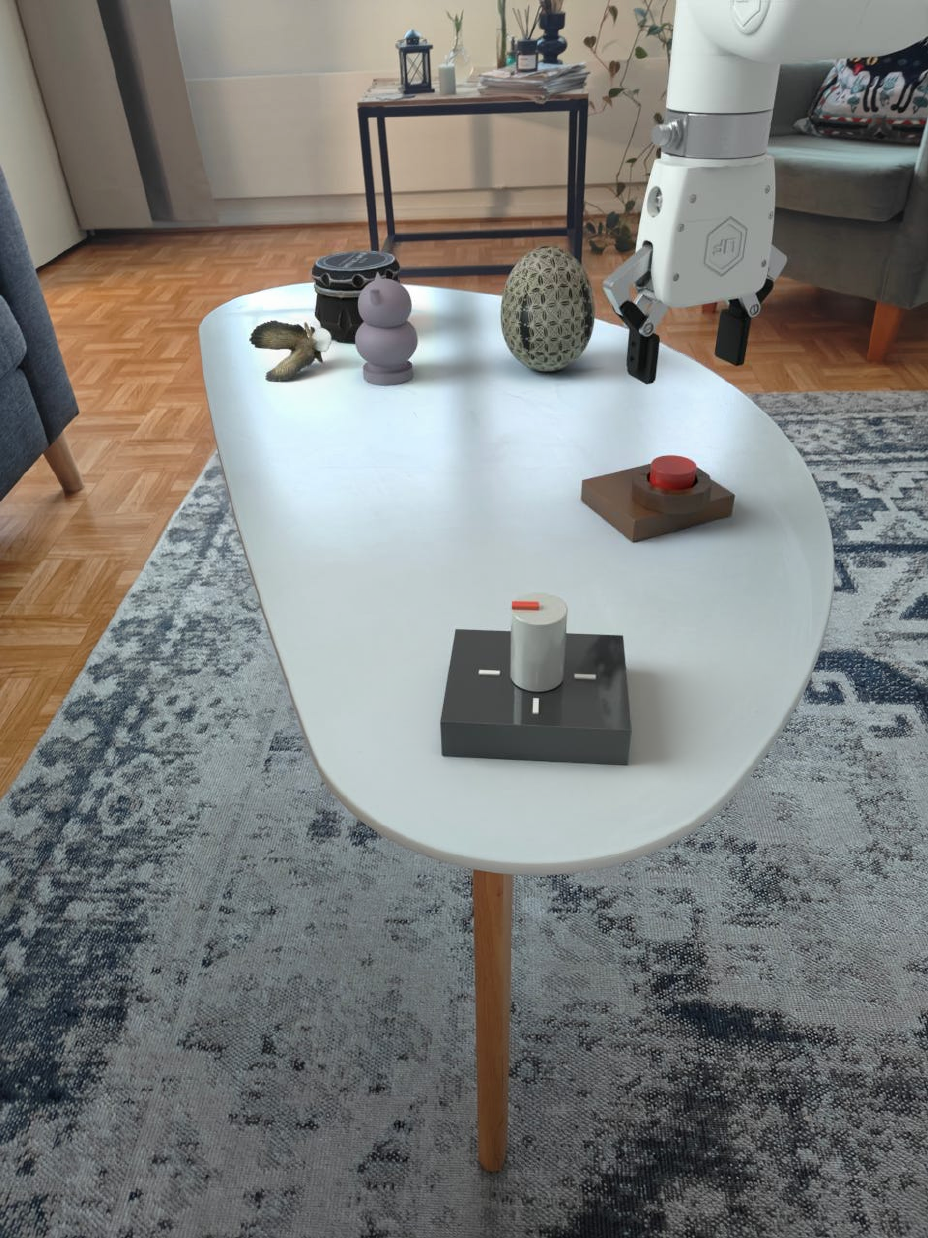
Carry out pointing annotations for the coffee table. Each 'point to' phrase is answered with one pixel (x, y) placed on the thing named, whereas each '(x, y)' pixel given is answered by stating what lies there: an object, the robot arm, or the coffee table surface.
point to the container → (347, 288)
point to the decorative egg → (547, 309)
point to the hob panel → (537, 703)
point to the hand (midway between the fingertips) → (685, 368)
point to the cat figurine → (386, 332)
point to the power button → (673, 472)
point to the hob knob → (538, 641)
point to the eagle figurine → (291, 346)
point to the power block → (654, 502)
